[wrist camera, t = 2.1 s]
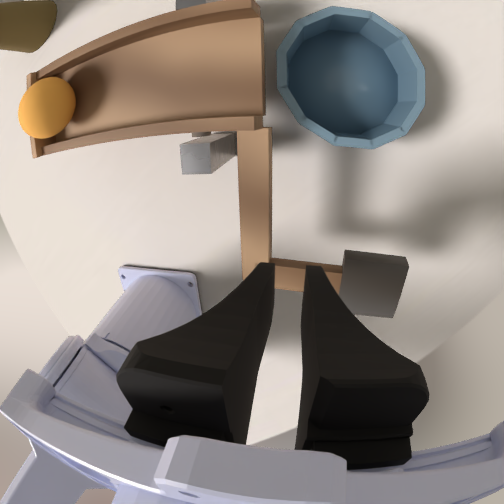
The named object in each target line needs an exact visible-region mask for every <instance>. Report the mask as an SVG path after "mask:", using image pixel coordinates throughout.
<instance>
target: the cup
mask: <svg viewBox="0 0 504 504" xmlns="http://www.w3.org/2000/svg"><path fill="white" fill-rule="evenodd" d="M276 58H277V89H278V91H279V92H280V94H281V96H282V97H283V99H284V100H285V102H286V104H287V105H288V107H289V109H290V110H291V112H292V114H293V115H294V117H295V119H296V120H297V122H298V123H299V124H300V125H302V126H303V127H305V128H307V129H308V130H310V131H312V132H313V133H315V134H317V135H318V136H320V137H321V138H323V139H324V140H326V141H327V142H329V143H331V144H332V145H334V146H345V147H355V148H365V149H375V148H377V147H380V146H382V145H384V144H386V143H388V142H391V141H393V140H395V139H398V138H400V137H402V136H404V135H406V134H407V133H408V131H409V130H410V128H411V126H412V125H413V123H414V122H415V120H416V119H417V117H418V116H419V114H420V113H421V111H422V109H423V108H424V105H425V68H424V66H423V64H422V62H421V61H420V59H419V57H418V55H417V53H416V51H415V50H414V48H413V46H412V44H411V43H410V41H409V39H408V38H407V36H406V35H405V34H404V33H403V32H401V31H400V30H399V29H397V28H396V27H394V26H393V25H391V24H390V23H389V22H387V21H386V20H384V19H383V18H381V17H380V16H378V15H376V14H375V13H373V12H371V11H365V10H359V9H352V8H344V7H335V6H332V7H328V8H325V9H323V10H320V11H318V12H315V13H313V14H310V15H308V16H306V17H303V18H301V19H299V20H297V21H296V22H295V23H294V25H293V26H292V28H291V29H290V31H289V32H288V34H287V35H286V37H285V38H284V40H283V41H282V43H281V44H280V46H279V47H278V49H277V51H276Z"/></svg>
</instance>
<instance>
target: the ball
mask: <svg viewBox="0 0 504 504" xmlns="http://www.w3.org/2000/svg"><path fill="white" fill-rule="evenodd" d="M75 106H76V97H75V93H74V90H73V88H72V87H71V85H70V84H69V83H68V82H67V81H65V80H63V79H61V78H58V77H48V78H44V79H41V80H39V81H37V82H35V83H34V84H33V85H32V86H31V87H29V89H28V90H27V91H26V92H25V94H24V95H23V97H22V99H21V102H20V105H19V110H18V117H19V122H20V125H21V127H22V129H23V130H24V131H25V132H26V133H27V134H28V135H30V136H32V137H34V138H40V139H43V138H49V137H52V136H54V135H56V134H58V133H59V132H61V131H62V130H63V129H64V128H65V127H66V126H67V125H68V123H69V122H70V120H71V118H72V116H73V114H74V111H75Z"/></svg>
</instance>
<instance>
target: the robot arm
mask: <svg viewBox="0 0 504 504" xmlns="http://www.w3.org/2000/svg"><path fill="white" fill-rule="evenodd" d="M118 273H119V276H120V279H121V283H122V286H123V289H124V293H123V294H122V295H121V296H120V298H119V299H118V300H117V301H116V302H115V304H114V305H113V306H112V307H111V309H110V310H109V311H108V312H107V314H106V315H105V316H104V317H103V319H102V320H101V321H100V323H99V324H98V325H97V326H96V328H95V329H94V330H93V332H92V333H91V334H90V336H89V337H88V338H87V339H86V340H85V341H84V340H83V339H82V338H81V337H80V336H79V335H76V336H68V337H67V338H66V340H65V341H64V342H63V343H62V344H61V345H60V347H59V348H58V349H57V350H56V352H55V353H54V354H53V356H52V357H51V358H50V360H49V361H48V362H47V363H46V365H45V366H44V367H43V369H42V370H41V371H40V373H39V374H37V373H36V372H34V371H32V370H30V369H27V370H26V371H25V373H24V374H23V375H22V376H21V378H20V379H19V381H18V382H17V383H16V385H15V386H14V388H13V389H12V390H11V392H10V393H9V395H8V396H7V398H6V399H5V400H4V402H3V403H2V405H1V406H0V412H1V413H2V414H3V415H4V416H5V417H6V418H7V419H8V420H9V421H10V422H11V423H12V424H13V425H14V426H15V427H16V428H18V429H19V430H20V431H21V432H22V433H23V434H24V435H25V436H26V437H28V439H29V441H30V443H31V445H32V448H33V450H32V452H31V453H30V455H29V456H28V458H27V459H26V461H25V462H24V464H23V466H22V467H21V469H20V470H19V471H18V473H17V475H16V476H15V478H14V479H13V481H12V483H11V484H10V486H9V487H8V489H7V491H6V492H5V494H4V496H3V497H2V499H1V501H0V504H75V503H76V502H77V500H78V499H79V498H80V496H81V495H82V494H83V493H84V491H85V490H86V489H94V488H99V489H103V488H104V489H105V488H106V489H107V488H109V489H111V490H113V491H115V492H116V494H115V497H114V499H113V502H112V504H470V503H472V502H474V501H477V500H479V499H482V498H484V497H486V496H488V495H491V494H493V493H495V492H497V491H499V490H500V489H502V488H504V421H503V422H501V423H500V424H498V425H497V426H496V427H495V428H494V429H493V430H492V431H491V432H490V433H489V434H486V435H483V436H479V437H476V438H473V439H469V440H465V441H461V442H458V443H454V444H449V445H445V446H440V447H436V448H431V449H425V450H420V451H413V452H411V446H410V437H411V436H412V435H413V428H412V422H413V421H414V420H415V419H416V418H417V416H418V415H419V414H420V413H421V411H422V410H423V409H424V407H425V406H426V404H427V402H428V400H429V391H428V387H427V383H426V380H425V377H424V375H423V372H422V370H421V367H420V366H419V365H418V364H416V363H415V362H413V361H411V360H409V359H408V358H406V357H404V356H402V355H401V354H399V353H398V352H396V351H395V350H393V349H392V348H390V347H389V346H388V345H386V344H385V343H383V342H382V341H381V340H380V339H378V338H377V337H376V336H375V335H374V334H373V333H371V332H370V331H369V330H368V329H367V328H366V327H365V326H364V325H363V324H362V323H361V322H360V321H359V320H358V319H357V318H356V317H355V316H354V315H353V314H352V312H351V311H350V310H349V309H348V307H347V306H346V305H345V303H344V302H343V301H342V299H341V298H340V296H339V295H338V293H337V292H336V290H335V289H334V287H333V286H332V284H331V282H330V281H329V279H328V277H327V275H326V273H325V271H324V269H323V268H322V267H321V266H313V265H306V270H305V281H304V291H303V301H302V315H301V340H302V365H303V375H302V389H301V400H300V410H299V420H298V428H297V436H296V444H295V450H290V449H277V448H266V447H258V446H250V445H246V440H247V434H248V428H249V422H250V416H251V410H252V404H253V398H254V393H255V387H256V381H257V375H258V371H259V367H260V363H261V359H262V356H263V352H264V349H265V345H266V341H267V338H268V334H269V330H270V327H271V322H272V315H273V308H274V291H275V263H266V262H260V263H259V264H258V265H257V266H256V267H255V268H254V269H253V271H252V272H251V273H250V274H249V275H248V276H247V277H246V278H245V279H244V280H243V281H242V283H241V284H240V285H239V286H238V287H237V288H236V289H234V290H233V291H232V292H231V293H230V294H229V295H228V296H227V297H225V298H224V299H223V300H222V301H221V302H219V303H218V304H217V305H216V306H214V307H213V308H211V309H210V310H209V311H207V312H205V313H204V314H202V311H201V305H200V299H199V292H198V286H197V279H196V276H195V275H194V274H193V273H190V272H179V271H168V270H158V269H148V268H138V267H128V266H121V267H120V268H119V269H118ZM189 282H191V283H193V285H192V284H190V283H189ZM83 341H84V342H83Z"/></svg>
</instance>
